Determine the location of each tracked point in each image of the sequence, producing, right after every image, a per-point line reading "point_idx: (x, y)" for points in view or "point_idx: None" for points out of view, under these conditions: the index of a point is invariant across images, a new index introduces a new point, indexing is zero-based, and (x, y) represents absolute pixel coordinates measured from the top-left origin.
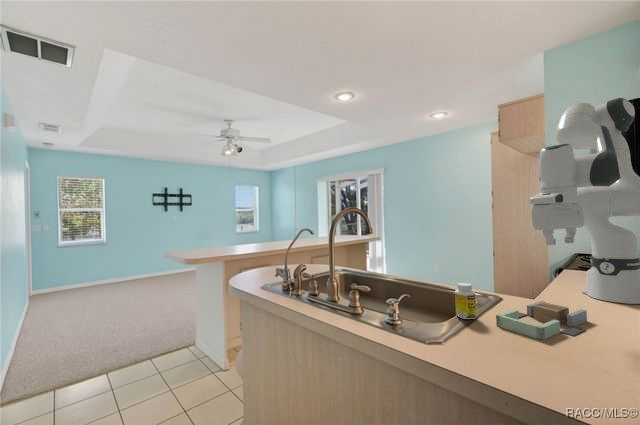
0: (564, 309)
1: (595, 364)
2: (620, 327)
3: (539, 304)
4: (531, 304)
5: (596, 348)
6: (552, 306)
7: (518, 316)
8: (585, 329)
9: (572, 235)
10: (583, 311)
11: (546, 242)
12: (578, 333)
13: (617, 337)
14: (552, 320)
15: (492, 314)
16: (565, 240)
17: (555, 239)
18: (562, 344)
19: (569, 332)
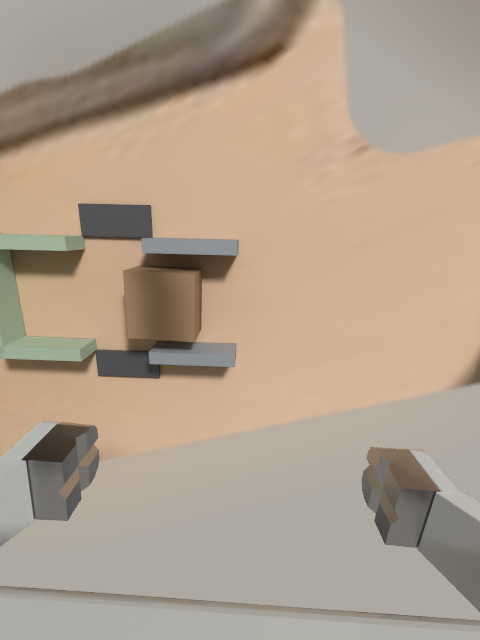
0: (169, 340)
1: (4, 438)
2: (247, 410)
3: (155, 274)
4: (166, 242)
5: (75, 419)
6: (167, 309)
7: (76, 249)
8: (158, 377)
9: (446, 565)
10: (217, 365)
11: (29, 433)
12: (122, 375)
13: (172, 423)
14: (68, 350)
15: (68, 162)
16: (384, 464)
17: (64, 517)
18: (36, 378)
19: (107, 364)
